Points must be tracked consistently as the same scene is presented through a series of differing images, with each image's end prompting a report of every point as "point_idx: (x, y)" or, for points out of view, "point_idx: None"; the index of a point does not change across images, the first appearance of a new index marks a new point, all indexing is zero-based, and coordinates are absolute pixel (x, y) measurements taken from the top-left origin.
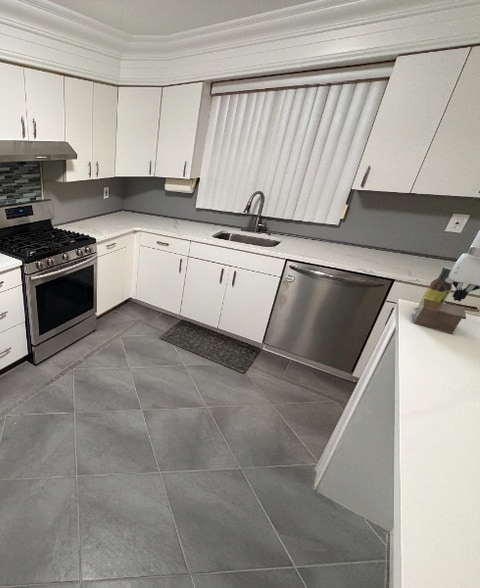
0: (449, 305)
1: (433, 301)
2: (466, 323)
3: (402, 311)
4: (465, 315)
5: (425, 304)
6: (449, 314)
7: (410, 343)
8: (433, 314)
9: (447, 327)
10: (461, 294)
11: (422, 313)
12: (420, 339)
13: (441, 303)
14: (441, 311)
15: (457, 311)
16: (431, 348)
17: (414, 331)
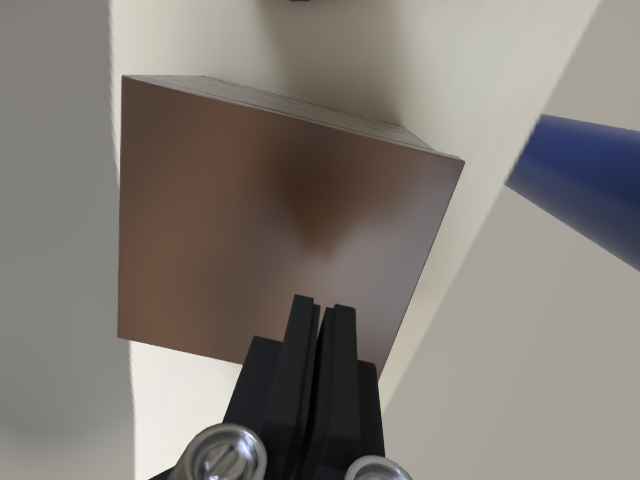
0: (339, 162)
1: (208, 119)
2: (546, 17)
3: (126, 57)
4: (385, 356)
5: (131, 271)
6: None
7: (157, 471)
8: None
9: None
10: (292, 475)
11: None
12: (194, 424)
13: (276, 140)
14: (231, 361)
15: (356, 299)
16: None
17: (178, 360)
